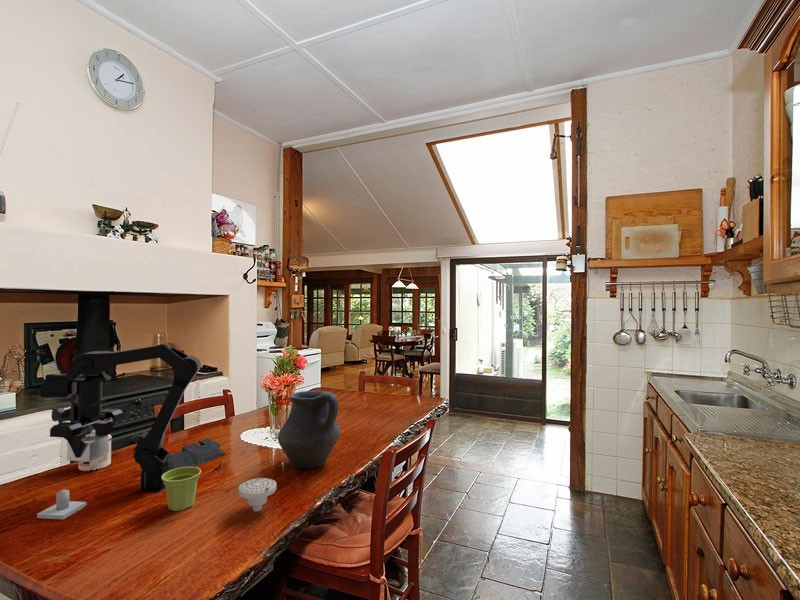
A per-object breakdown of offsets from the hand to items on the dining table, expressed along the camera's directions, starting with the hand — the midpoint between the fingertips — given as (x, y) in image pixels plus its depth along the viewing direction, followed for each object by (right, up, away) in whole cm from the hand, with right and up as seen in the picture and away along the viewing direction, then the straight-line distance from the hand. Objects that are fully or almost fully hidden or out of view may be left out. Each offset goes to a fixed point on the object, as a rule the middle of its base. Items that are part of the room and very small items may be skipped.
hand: (88, 452), depth 118 cm
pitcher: (+57, -13, +24) cm, 63 cm away
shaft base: (+1, -12, -10) cm, 15 cm away
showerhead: (+50, -12, -8) cm, 52 cm away
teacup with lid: (-11, -12, +19) cm, 25 cm away
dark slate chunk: (+15, -13, +27) cm, 33 cm away
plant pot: (+29, -12, -6) cm, 32 cm away
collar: (0, -1, 0) cm, 1 cm away
